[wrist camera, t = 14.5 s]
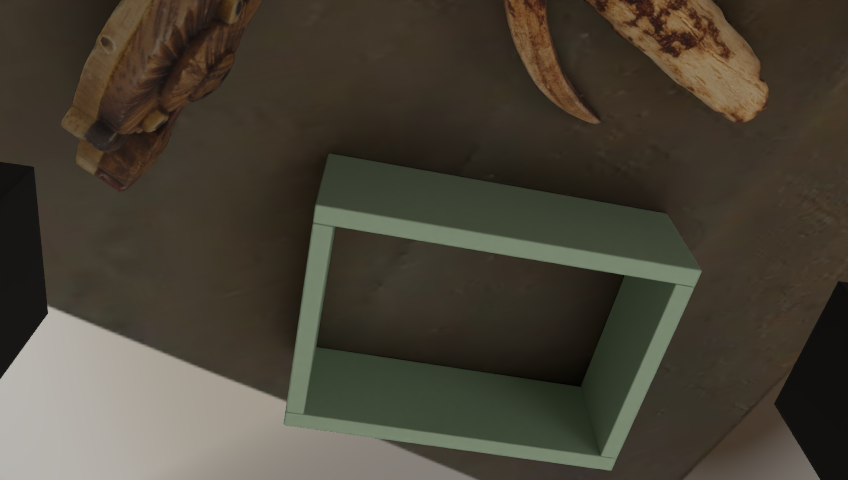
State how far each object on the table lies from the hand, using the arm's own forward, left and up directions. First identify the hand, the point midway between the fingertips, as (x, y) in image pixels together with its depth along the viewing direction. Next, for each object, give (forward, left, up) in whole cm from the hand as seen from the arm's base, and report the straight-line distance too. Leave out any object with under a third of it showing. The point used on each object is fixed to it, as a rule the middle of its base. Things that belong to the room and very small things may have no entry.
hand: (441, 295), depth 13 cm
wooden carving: (+4, -10, -27) cm, 29 cm away
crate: (+17, +6, -27) cm, 32 cm away
